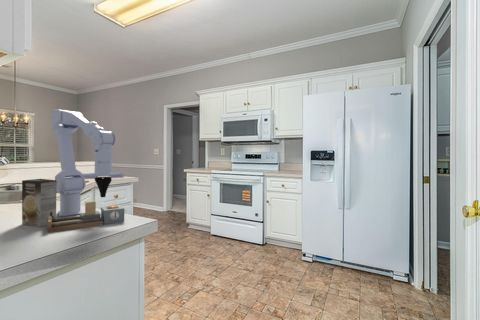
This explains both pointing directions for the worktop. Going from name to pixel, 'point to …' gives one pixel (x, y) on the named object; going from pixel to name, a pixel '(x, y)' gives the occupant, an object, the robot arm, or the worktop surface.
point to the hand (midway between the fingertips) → (102, 196)
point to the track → (71, 223)
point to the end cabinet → (112, 214)
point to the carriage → (90, 211)
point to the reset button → (112, 207)
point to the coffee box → (38, 201)
